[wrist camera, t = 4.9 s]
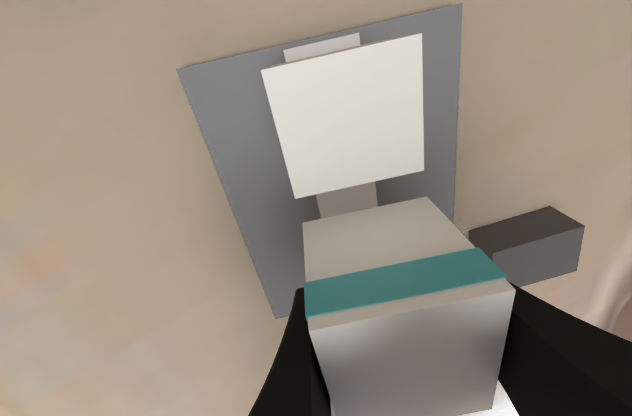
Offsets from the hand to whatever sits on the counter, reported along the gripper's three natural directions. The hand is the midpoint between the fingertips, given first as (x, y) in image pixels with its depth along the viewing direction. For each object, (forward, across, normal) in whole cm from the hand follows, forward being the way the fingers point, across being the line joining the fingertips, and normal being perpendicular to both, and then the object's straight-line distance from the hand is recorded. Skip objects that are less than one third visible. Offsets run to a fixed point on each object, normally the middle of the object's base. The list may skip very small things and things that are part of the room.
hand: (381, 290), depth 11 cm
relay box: (+9, -12, +7) cm, 17 cm away
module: (+2, 0, 0) cm, 2 cm away
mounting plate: (+9, 0, 0) cm, 9 cm away
